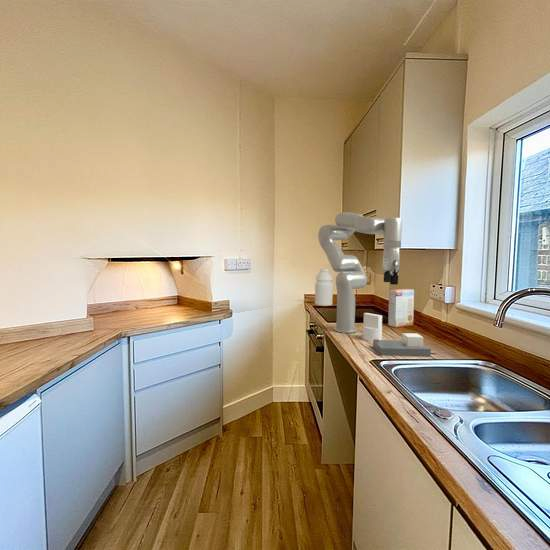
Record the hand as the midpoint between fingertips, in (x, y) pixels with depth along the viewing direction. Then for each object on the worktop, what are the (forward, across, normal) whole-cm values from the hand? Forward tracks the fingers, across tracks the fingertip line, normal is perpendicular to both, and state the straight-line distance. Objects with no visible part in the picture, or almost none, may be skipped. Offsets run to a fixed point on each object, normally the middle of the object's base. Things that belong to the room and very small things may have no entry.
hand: (390, 283), depth 153 cm
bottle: (+29, -109, -16) cm, 114 cm away
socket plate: (+28, +11, +2) cm, 30 cm away
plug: (+28, +11, +7) cm, 30 cm away
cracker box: (+28, -39, +19) cm, 52 cm away
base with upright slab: (+28, -9, -5) cm, 30 cm away
